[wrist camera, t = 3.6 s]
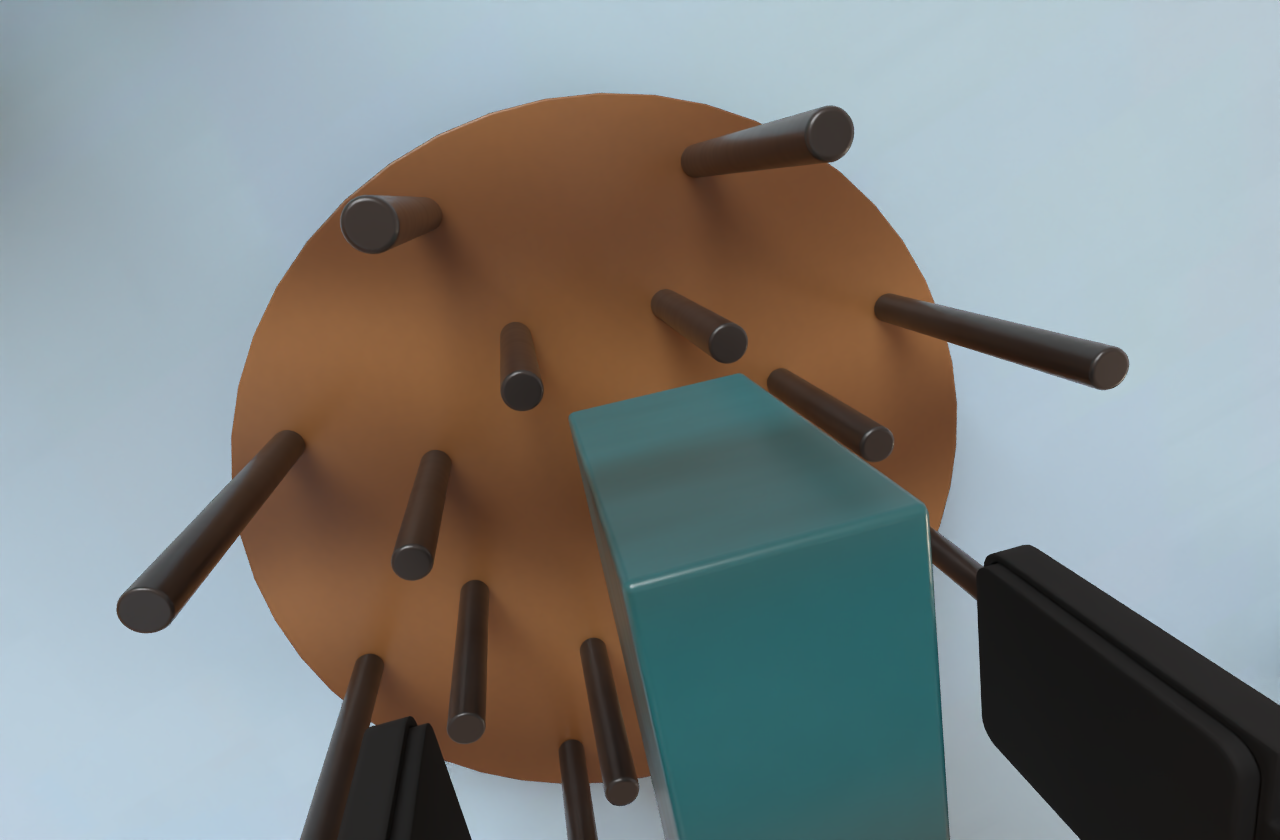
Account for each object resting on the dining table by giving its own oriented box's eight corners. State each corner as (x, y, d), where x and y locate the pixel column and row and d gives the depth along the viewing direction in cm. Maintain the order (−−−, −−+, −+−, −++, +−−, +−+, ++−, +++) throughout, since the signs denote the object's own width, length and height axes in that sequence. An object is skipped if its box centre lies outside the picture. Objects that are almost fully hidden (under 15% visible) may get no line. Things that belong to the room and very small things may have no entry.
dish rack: (115, 183, 15) (-1586, 105, 3) (915, 36, 17) (1958, -375, 5) (376, 832, 21) (198, 1744, 8) (951, 662, 23) (1472, 1196, 11)
